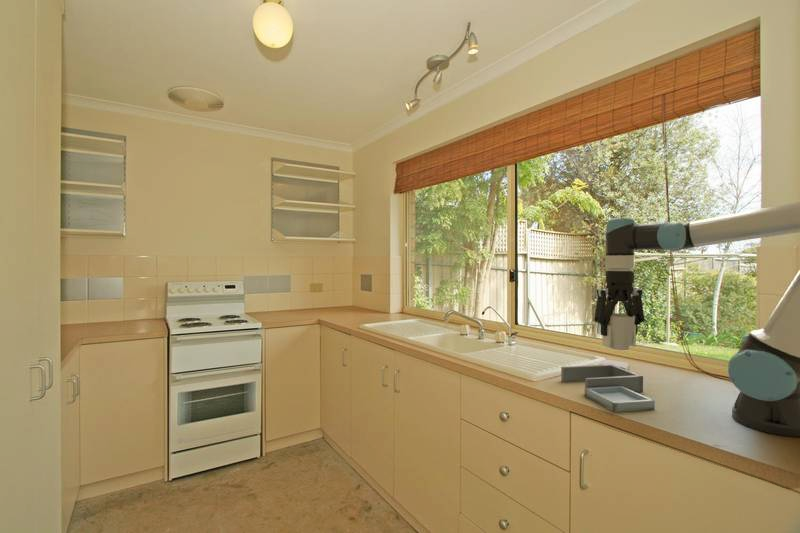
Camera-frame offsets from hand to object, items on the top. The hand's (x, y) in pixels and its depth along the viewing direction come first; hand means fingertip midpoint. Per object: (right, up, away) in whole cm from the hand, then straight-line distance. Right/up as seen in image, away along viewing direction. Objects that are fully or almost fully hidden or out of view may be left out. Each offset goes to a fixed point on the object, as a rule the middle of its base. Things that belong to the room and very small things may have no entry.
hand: (619, 346), depth 117 cm
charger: (+16, -17, +30) cm, 38 cm away
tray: (0, -17, 0) cm, 17 cm away
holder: (+2, -17, +15) cm, 23 cm away
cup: (0, -1, 0) cm, 1 cm away
